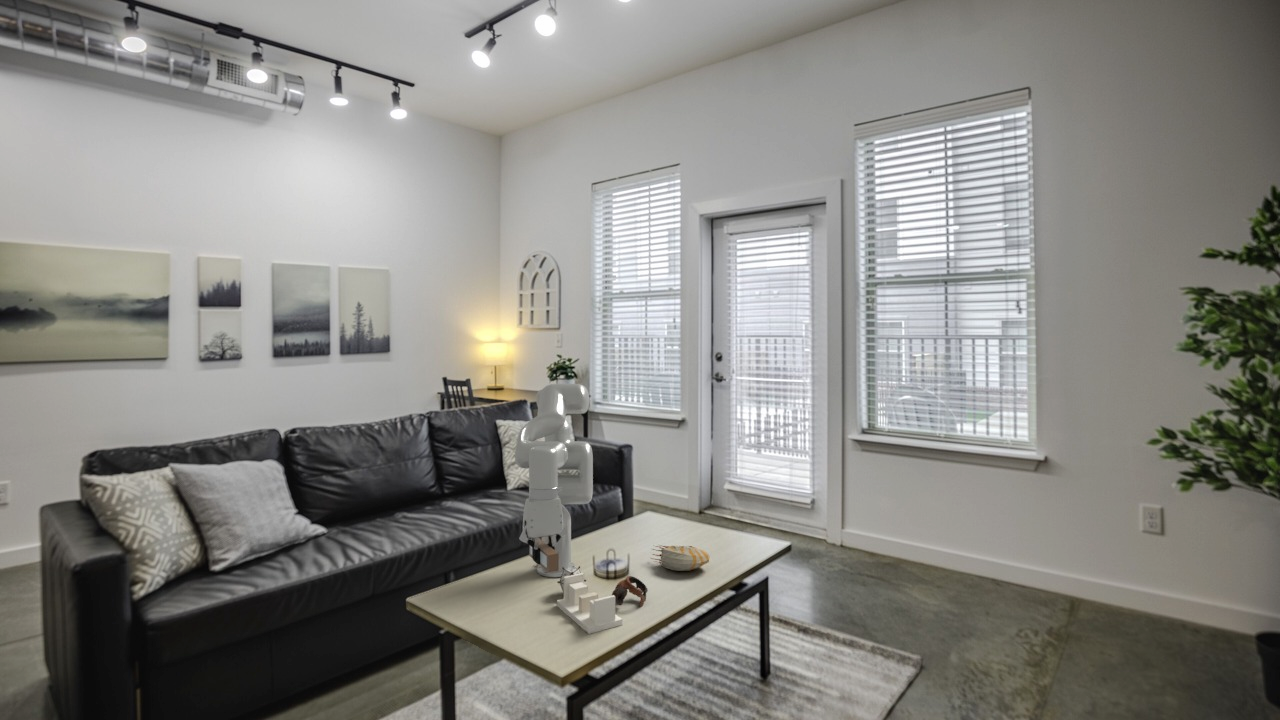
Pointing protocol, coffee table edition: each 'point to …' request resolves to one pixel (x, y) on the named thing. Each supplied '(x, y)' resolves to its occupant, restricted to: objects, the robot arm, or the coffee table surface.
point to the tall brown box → (547, 557)
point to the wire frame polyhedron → (567, 573)
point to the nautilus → (682, 557)
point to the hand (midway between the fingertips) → (543, 560)
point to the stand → (587, 606)
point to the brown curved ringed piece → (630, 590)
